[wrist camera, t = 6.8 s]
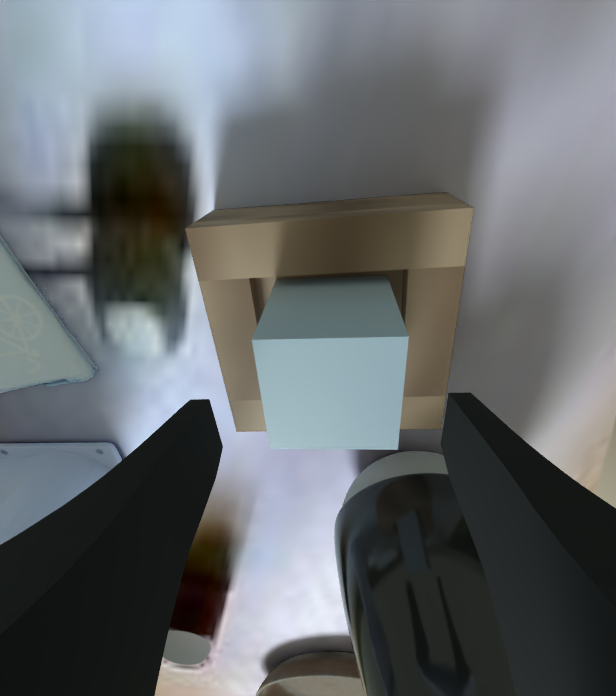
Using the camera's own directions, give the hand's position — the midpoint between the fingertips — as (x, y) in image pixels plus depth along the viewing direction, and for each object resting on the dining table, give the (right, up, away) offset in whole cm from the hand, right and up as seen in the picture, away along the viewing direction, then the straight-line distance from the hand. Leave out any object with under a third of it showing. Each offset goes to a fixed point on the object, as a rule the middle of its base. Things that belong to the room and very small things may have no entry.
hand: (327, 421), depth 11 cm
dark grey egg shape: (+6, -7, +13) cm, 16 cm away
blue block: (+1, +3, +5) cm, 6 cm away
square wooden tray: (+1, +4, +7) cm, 8 cm away
